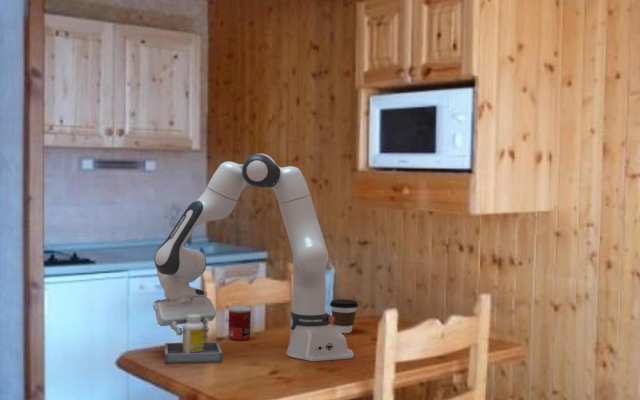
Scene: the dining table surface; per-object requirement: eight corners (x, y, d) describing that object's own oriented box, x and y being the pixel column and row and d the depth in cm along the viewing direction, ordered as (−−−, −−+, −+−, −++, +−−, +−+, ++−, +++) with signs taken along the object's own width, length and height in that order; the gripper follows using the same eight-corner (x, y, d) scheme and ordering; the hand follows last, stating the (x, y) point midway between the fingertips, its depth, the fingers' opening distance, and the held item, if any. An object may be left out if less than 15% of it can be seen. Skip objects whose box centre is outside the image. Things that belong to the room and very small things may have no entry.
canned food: (246, 341, 266) (247, 311, 266) (225, 340, 267) (226, 309, 267) (252, 337, 273) (253, 307, 273) (231, 335, 275) (232, 306, 275)
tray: (217, 351, 251) (218, 342, 251) (222, 362, 235) (222, 353, 235) (164, 352, 247) (164, 343, 247) (165, 364, 232) (165, 354, 232)
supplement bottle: (207, 354, 243) (208, 315, 242) (194, 358, 237) (195, 318, 236) (190, 351, 246) (191, 312, 245) (178, 355, 240) (179, 315, 239)
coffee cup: (362, 332, 288) (363, 301, 287) (345, 336, 280) (346, 305, 279) (341, 328, 295) (342, 298, 295) (323, 332, 287) (324, 301, 286)
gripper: (154, 294, 240) (167, 330, 233) (210, 290, 252) (224, 324, 245) (148, 306, 244) (160, 341, 236) (203, 301, 256) (217, 335, 249)
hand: (193, 332), depth 241 cm, fingers open, 8 cm apart
